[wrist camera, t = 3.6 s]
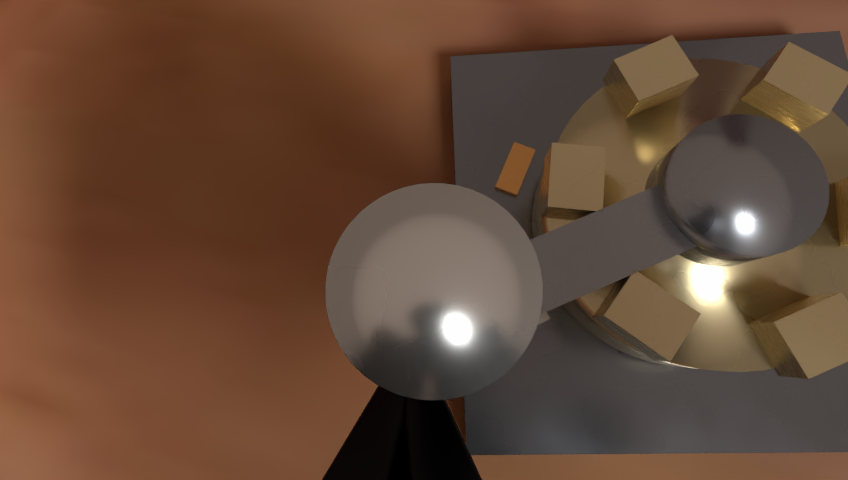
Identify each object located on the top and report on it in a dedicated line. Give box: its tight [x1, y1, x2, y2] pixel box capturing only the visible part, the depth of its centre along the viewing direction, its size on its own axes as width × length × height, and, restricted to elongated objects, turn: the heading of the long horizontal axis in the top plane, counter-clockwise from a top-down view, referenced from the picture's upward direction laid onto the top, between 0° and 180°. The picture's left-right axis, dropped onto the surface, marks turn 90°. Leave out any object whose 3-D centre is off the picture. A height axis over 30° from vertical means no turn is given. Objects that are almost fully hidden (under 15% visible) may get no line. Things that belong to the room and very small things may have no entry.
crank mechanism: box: [325, 35, 848, 400], centre depth 10 cm, size 14×9×10 cm, turn 113°
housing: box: [450, 31, 848, 455], centre depth 16 cm, size 14×14×2 cm
